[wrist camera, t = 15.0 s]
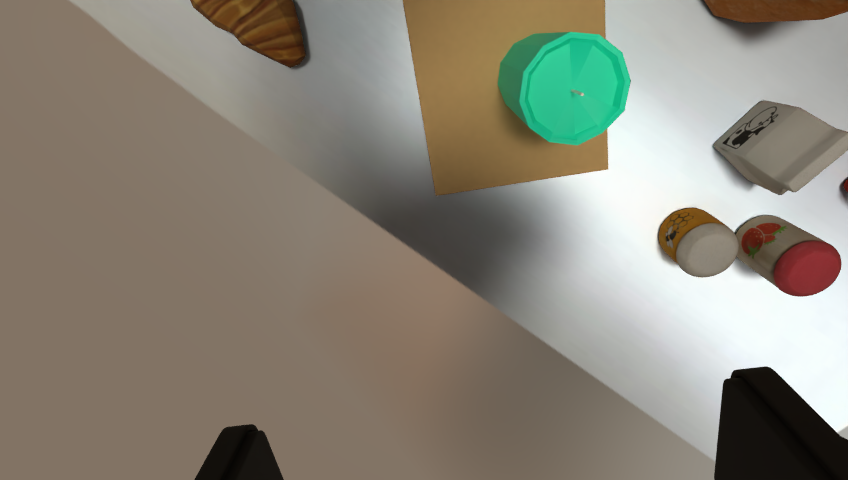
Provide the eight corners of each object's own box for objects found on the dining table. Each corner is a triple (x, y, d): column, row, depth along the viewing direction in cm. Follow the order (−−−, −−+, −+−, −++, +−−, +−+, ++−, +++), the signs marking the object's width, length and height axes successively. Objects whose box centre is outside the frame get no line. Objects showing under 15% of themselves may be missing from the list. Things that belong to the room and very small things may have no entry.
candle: (481, 71, 35) (499, 87, 24) (547, 13, 33) (601, 1, 22) (528, 133, 37) (566, 174, 26) (594, 81, 35) (664, 101, 24)
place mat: (388, -86, 32) (388, -87, 31) (601, -132, 30) (602, -133, 30) (435, 195, 39) (435, 195, 39) (607, 168, 38) (608, 169, 38)
